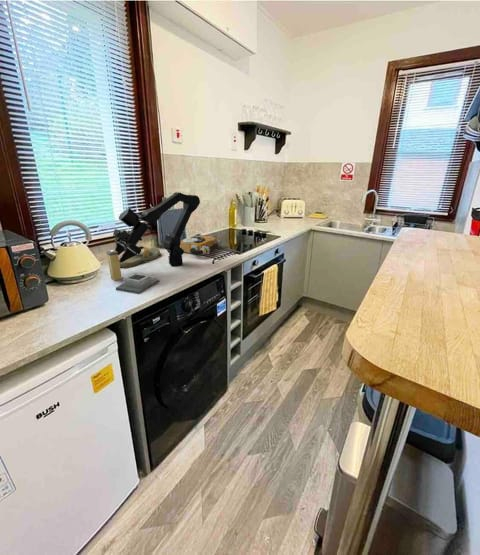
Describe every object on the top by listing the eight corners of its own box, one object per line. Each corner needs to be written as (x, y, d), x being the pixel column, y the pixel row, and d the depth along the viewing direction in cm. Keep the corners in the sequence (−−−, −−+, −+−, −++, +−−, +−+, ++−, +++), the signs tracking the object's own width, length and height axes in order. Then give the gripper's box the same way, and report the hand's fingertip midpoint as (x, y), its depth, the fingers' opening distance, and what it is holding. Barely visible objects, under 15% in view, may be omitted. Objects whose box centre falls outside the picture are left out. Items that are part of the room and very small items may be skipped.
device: (227, 235, 177) (201, 246, 152) (227, 248, 180) (202, 260, 155) (198, 232, 186) (169, 241, 161) (199, 244, 189) (170, 255, 164)
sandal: (166, 255, 164) (165, 242, 161) (128, 270, 140) (125, 255, 137) (151, 253, 169) (150, 240, 166) (111, 266, 145) (109, 252, 142)
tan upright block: (118, 276, 131) (114, 248, 126) (122, 278, 128) (117, 250, 123) (111, 277, 129) (105, 249, 124) (114, 280, 126) (109, 251, 121)
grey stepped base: (137, 278, 129) (136, 270, 127) (159, 281, 125) (158, 273, 124) (116, 289, 117) (114, 281, 115) (139, 293, 113) (138, 284, 111)
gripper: (116, 219, 130) (95, 245, 127) (130, 225, 117) (108, 254, 114) (134, 233, 138) (115, 258, 135) (150, 240, 125) (129, 268, 122)
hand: (116, 259), depth 126 cm, fingers open, 9 cm apart
